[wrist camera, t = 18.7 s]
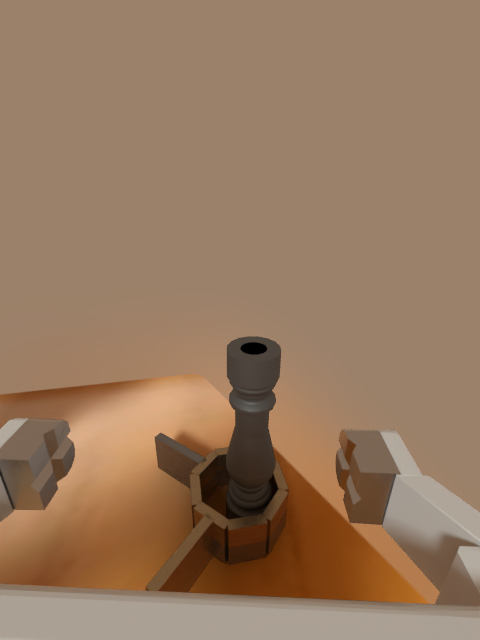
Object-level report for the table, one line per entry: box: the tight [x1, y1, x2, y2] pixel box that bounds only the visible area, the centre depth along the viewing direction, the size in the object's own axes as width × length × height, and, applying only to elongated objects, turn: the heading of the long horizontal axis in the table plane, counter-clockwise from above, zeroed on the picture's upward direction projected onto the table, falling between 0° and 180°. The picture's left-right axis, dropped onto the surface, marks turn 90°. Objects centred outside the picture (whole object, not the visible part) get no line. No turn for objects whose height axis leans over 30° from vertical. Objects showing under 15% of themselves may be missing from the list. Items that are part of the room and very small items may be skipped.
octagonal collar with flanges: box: [146, 433, 289, 593], centre depth 42 cm, size 20×20×6 cm
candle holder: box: [226, 337, 281, 520], centre depth 39 cm, size 6×6×25 cm
